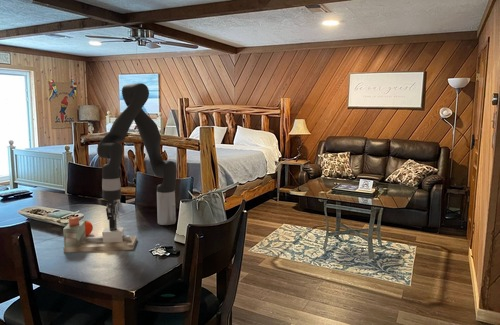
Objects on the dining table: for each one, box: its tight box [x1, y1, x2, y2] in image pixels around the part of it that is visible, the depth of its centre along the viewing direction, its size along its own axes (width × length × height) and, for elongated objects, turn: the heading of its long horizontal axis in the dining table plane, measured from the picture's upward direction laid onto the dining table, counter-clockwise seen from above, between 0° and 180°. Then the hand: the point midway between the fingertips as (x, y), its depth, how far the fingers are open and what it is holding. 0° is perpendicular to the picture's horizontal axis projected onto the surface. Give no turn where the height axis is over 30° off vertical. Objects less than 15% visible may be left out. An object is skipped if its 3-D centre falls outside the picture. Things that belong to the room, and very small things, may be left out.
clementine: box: [84, 220, 94, 237], centre depth 181 cm, size 8×7×7 cm
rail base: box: [62, 220, 138, 253], centre depth 167 cm, size 28×12×10 cm, turn 99°
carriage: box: [101, 216, 125, 243], centre depth 168 cm, size 8×6×11 cm
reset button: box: [68, 216, 80, 226], centre depth 164 cm, size 4×4×3 cm
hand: (113, 226), depth 167 cm, fingers closed on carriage, 3 cm apart
